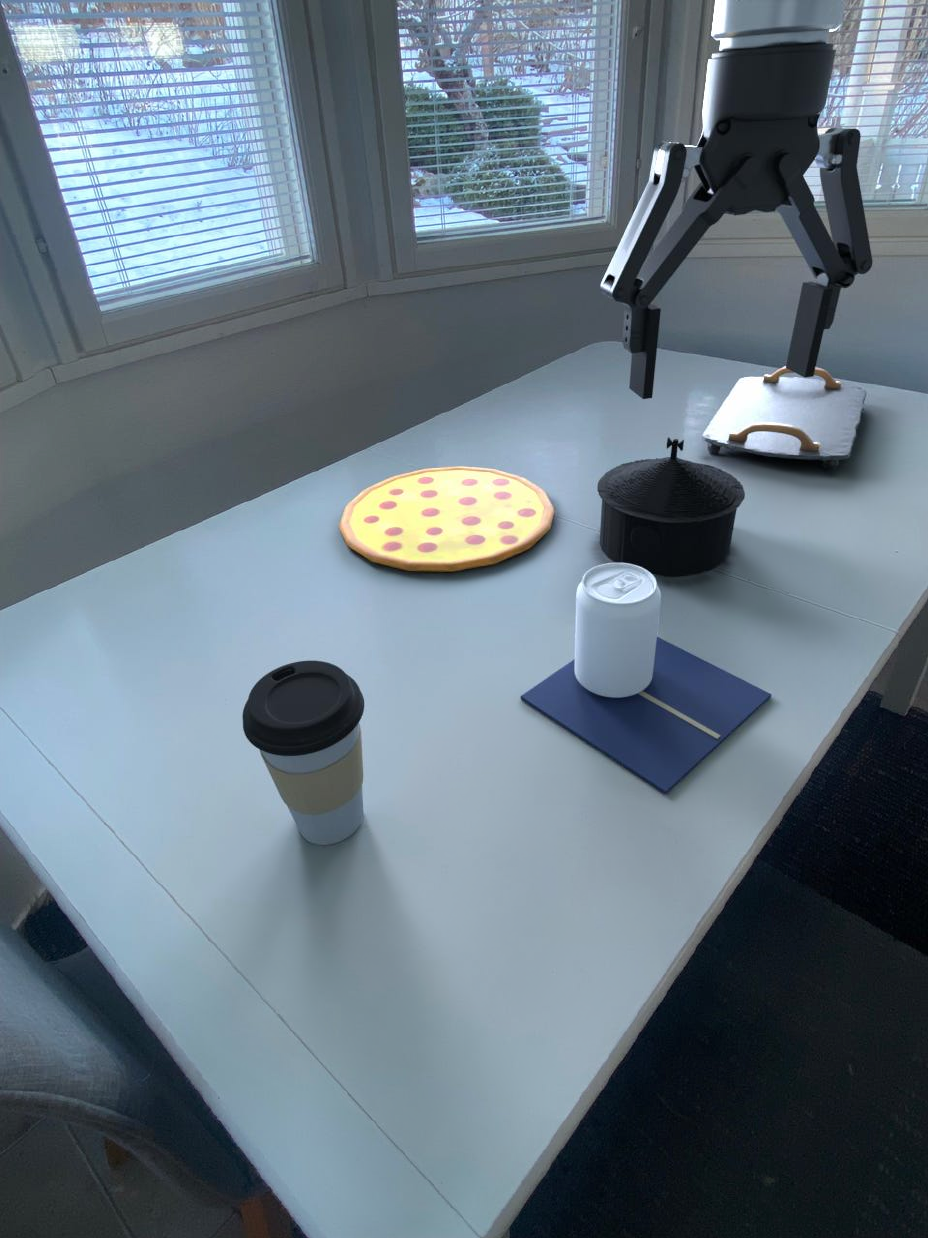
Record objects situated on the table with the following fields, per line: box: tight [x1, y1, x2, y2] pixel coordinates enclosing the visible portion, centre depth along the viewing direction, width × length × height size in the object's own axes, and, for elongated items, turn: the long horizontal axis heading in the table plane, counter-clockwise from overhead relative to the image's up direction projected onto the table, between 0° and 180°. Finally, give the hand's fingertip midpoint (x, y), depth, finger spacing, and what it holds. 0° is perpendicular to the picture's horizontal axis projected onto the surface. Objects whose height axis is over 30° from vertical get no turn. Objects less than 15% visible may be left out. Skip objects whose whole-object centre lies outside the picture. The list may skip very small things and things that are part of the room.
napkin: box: [520, 636, 772, 795], centre depth 75 cm, size 18×18×1 cm
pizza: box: [338, 465, 555, 573], centre depth 109 cm, size 32×32×1 cm
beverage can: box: [574, 562, 662, 698], centre depth 74 cm, size 8×8×12 cm
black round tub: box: [597, 436, 746, 578], centre depth 95 cm, size 18×18×15 cm
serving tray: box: [700, 365, 867, 472], centre depth 128 cm, size 39×23×6 cm, turn 152°
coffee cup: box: [241, 659, 365, 846], centre depth 60 cm, size 9×9×15 cm
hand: (721, 382), depth 58 cm, fingers open, 13 cm apart
